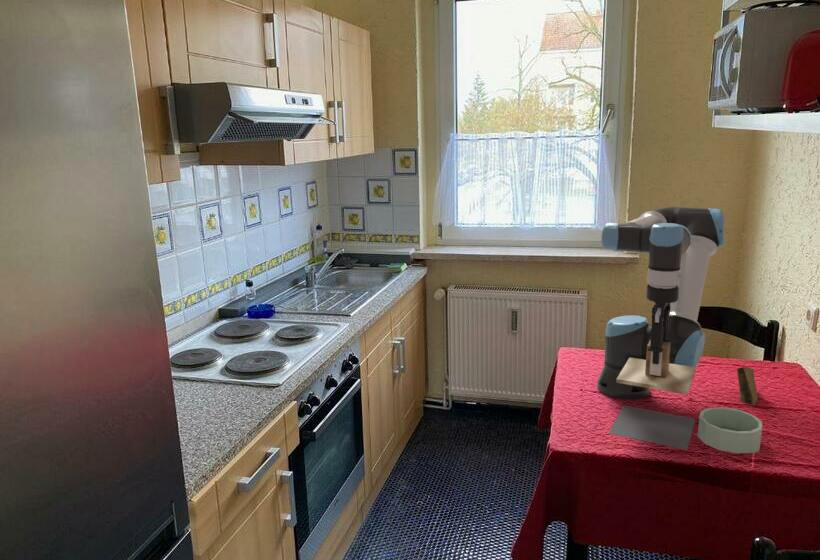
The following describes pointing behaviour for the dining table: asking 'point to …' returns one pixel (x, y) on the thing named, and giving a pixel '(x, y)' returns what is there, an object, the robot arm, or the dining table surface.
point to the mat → (654, 427)
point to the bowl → (730, 430)
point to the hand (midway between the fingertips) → (657, 370)
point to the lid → (670, 379)
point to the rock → (747, 385)
